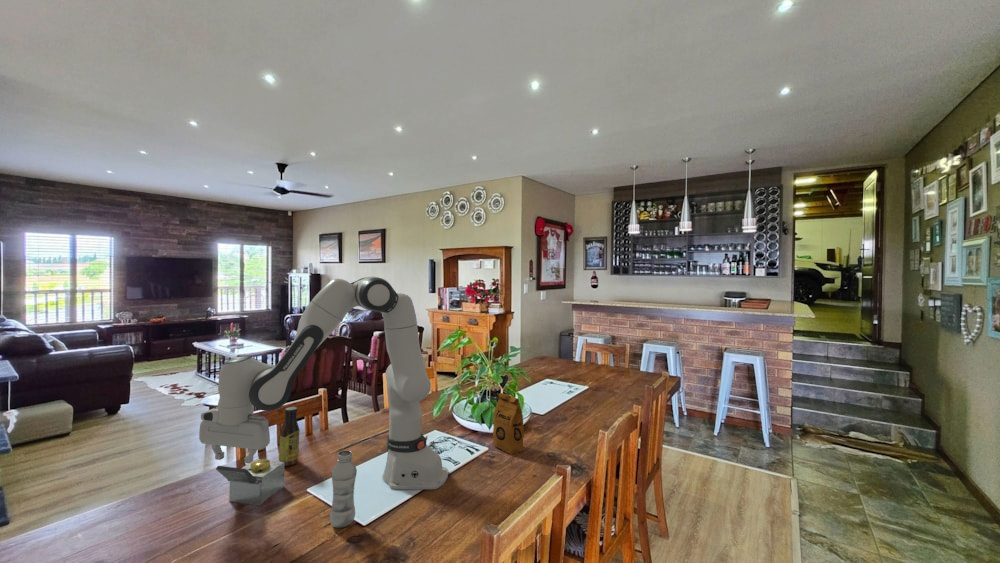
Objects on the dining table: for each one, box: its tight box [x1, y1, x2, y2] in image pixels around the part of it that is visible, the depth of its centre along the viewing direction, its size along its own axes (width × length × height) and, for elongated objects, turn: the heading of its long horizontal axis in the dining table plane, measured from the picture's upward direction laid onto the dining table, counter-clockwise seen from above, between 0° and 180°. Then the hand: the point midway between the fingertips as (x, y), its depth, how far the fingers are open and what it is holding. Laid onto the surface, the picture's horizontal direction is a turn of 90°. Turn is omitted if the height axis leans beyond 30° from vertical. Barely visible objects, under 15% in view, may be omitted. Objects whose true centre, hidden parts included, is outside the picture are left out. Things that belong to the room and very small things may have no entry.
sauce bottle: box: [278, 406, 301, 467], centre depth 148 cm, size 7×6×20 cm
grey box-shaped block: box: [228, 458, 285, 506], centre depth 127 cm, size 10×11×8 cm
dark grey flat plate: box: [215, 465, 259, 484], centre depth 119 cm, size 9×8×1 cm
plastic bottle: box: [329, 450, 358, 529], centre depth 114 cm, size 6×7×20 cm
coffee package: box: [492, 392, 525, 456], centre depth 167 cm, size 10×12×22 cm
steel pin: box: [250, 458, 271, 472], centre depth 128 cm, size 5×5×9 cm
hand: (234, 460), depth 118 cm, fingers open, 8 cm apart
